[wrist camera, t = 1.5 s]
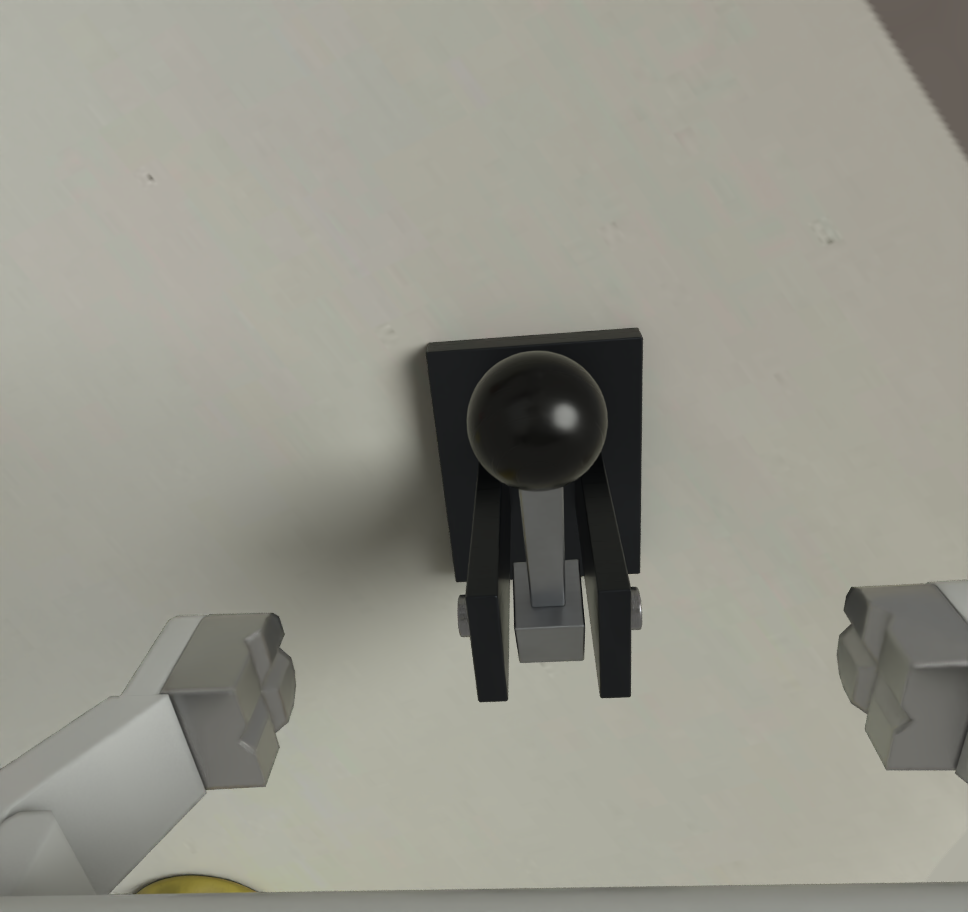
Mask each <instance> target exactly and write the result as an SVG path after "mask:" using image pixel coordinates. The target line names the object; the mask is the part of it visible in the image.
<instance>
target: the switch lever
mask: <svg viewBox="0 0 968 912" xmlns="http://www.w3.org/2000/svg"><path fill="white" fill-rule="evenodd" d="M607 427H608V417H607V408H606V404H605V400H604V397H603V394H602V392H601V390H600V388H599V386H598V384H597V383H596V381H595V380H594V379H593V377H592V376H591V375H590V374H589V373H588V372H587V371H586V370H585V369H584V368H583V367H582V366H581V365H579V364H578V363H576V362H575V361H573V360H571V359H570V358H568V357H565V356H563V355H560V354H556V353H553V352H548V351H527V352H522V353H518V354H515V355H512V356H510V357H508V358H505V359H503V360H502V361H500V362H498V363H497V364H496V365H494V366H493V367H492V368H491V369H490V370H488V371H487V372H486V373H485V375H484V376H483V377H482V378H481V380H480V381H479V382H478V384H477V386H476V387H475V389H474V391H473V393H472V396H471V399H470V402H469V406H468V411H467V433H468V437H469V441H470V444H471V447H472V449H473V452H474V454H475V456H476V457H477V459H478V460H479V462H480V463H481V465H482V466H483V467H484V468H485V469H486V470H487V471H488V472H489V473H490V474H491V475H492V476H493V477H495V478H496V479H498V480H499V481H500V482H502V483H504V484H506V485H508V486H511V487H513V488H516V489H519V498H520V507H521V517H522V526H523V536H524V545H525V554H526V562H514V563H513V599H514V630H515V636H516V643H517V649H518V656H519V661H520V663H532V662H558V661H582V660H584V646H585V619H584V608H583V597H582V586H581V575H580V564H579V560H578V559H574V560H565V548H564V500H563V487H564V486H566V485H568V484H570V483H572V482H573V481H575V480H577V479H578V478H580V477H581V476H582V475H583V474H584V473H585V472H586V471H588V470H589V468H590V467H591V466H592V465H593V463H594V462H595V461H596V459H597V458H598V456H599V454H600V452H601V450H602V448H603V445H604V442H605V439H606V434H607Z"/></svg>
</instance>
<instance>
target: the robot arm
mask: <svg viewBox="0 0 968 912" xmlns="http://www.w3.org/2000/svg"><path fill="white" fill-rule="evenodd" d="M844 612H845V614H846V615H847V617H848V619H849V620H850V622H851V624H850V625H849V626H848V627H847V628H846V629H845V630H844V631H843V632H842V633H841V634H840V635H839V641H838V649H837V660H838V669H839V675H840V679H841V682H842V685H843V688H844V690H845V692H846V694H847V696H848V698H849V700H850V702H851V704H853V705H854V706H856V707H857V708H859V709H860V710H862V711H863V712H865V713H866V714H868V715H867V720H866V725H865V731H866V733H867V735H868V737H869V739H870V740H871V742H872V744H873V746H874V748H875V750H876V752H877V754H878V755H879V757H880V759H881V761H882V763H883V765H884V767H885V769H886V770H956V772H955V774H956V775H958V776H959V777H960V778H961V779H963V780H964V781H965V782H966V783H968V580H952V581H937V582H927V583H926V584H924V583H921V584H901V585H882V586H862V587H851V588H850V590H849V592H848V594H847V595H846V600H845V605H844ZM284 635H285V634H284V631H283V628H282V624H281V621H280V618H279V616H277V615H275V614H274V613H242V614H209V615H179V616H175V617H174V618H172V619H170V620H169V621H168V622H167V623H166V625H165V626H164V628H163V629H162V631H161V633H160V634H159V636H158V637H157V639H156V640H155V642H154V644H153V645H152V647H151V648H150V650H149V651H148V653H147V655H146V656H145V658H144V659H143V661H142V662H141V664H140V666H139V667H138V669H137V670H136V672H135V673H134V675H133V677H132V678H131V680H130V681H129V683H128V684H127V686H126V688H125V689H124V691H123V692H122V694H121V695H120V696H110V697H108V698H107V699H105V700H104V701H102V702H101V703H99V704H98V705H96V706H95V707H93V708H92V709H90V710H89V711H87V712H86V713H84V714H83V715H81V716H80V717H78V718H77V719H75V720H74V721H72V722H71V723H69V724H68V725H66V726H65V727H63V728H62V729H60V730H59V731H57V732H56V733H54V734H53V735H51V736H50V737H48V738H47V739H45V740H44V741H42V742H41V743H39V744H38V745H36V746H35V747H33V748H32V749H30V750H29V751H27V752H26V753H24V754H23V755H21V756H20V757H18V758H17V759H15V760H14V761H12V762H11V763H9V764H8V765H6V766H5V767H3V768H2V769H0V912H968V882H916V883H849V884H781V885H714V886H646V887H579V888H512V889H445V890H379V891H312V892H246V893H180V894H113V895H108V894H109V893H110V892H111V891H112V890H113V889H114V888H115V887H116V886H117V885H118V884H119V883H120V882H121V881H122V880H123V879H124V878H125V877H126V876H127V875H128V874H129V873H130V872H131V871H132V870H133V869H134V868H135V867H136V866H137V864H138V863H139V862H140V861H141V860H142V859H143V858H144V857H145V856H146V855H147V854H148V853H149V852H150V851H151V850H152V849H153V848H154V847H155V846H156V845H157V844H158V843H159V842H160V841H161V840H162V839H163V838H164V837H165V836H166V835H167V834H168V832H169V831H170V830H171V829H172V828H173V827H174V826H175V825H176V824H177V823H178V822H179V821H180V820H181V819H182V818H183V817H184V816H185V815H186V814H187V813H188V812H189V811H190V810H191V809H192V808H193V807H194V806H195V805H196V804H197V803H198V802H199V801H200V799H201V798H202V797H203V796H204V795H205V794H206V790H214V789H232V788H250V787H266V784H267V781H268V778H269V776H270V773H271V770H272V767H273V764H274V762H275V759H276V756H277V753H278V750H279V748H280V747H279V743H278V740H277V737H276V732H277V731H279V730H280V729H281V728H282V727H283V726H284V725H286V724H287V723H288V722H289V719H290V716H291V712H292V709H293V706H294V698H295V689H296V681H295V670H294V667H293V663H292V659H291V657H290V656H289V655H288V654H286V653H285V652H284V651H283V650H282V649H281V648H279V647H280V645H281V642H282V640H283V637H284Z"/></svg>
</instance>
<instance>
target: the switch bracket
mask: <svg viewBox="0 0 968 912" xmlns="http://www.w3.org/2000/svg"><path fill="white" fill-rule="evenodd" d="M527 351H548V352H553V353H556V354H560V355H563V356H565V357H568V358H570V359H571V360H573V361H575V362H576V363H578V364H579V365H581V366H582V367H583V368H584V369H585V370H586V371H587V372H588V373H589V374H590V375H591V376H592V377H593V379H594V380H595V381H596V383H597V384H598V386H599V388H600V390H601V392H602V394H603V397H604V400H605V404H606V408H607V417H608V427H607V434H606V439H605V442H604V445H603V448H602V450H601V452H600V454H599V456H598V458H597V459H596V461H595V462H594V463H593V465H592V466H591V467H590V468H589V470H588V471H586V472H585V473H584V474H583V475H582V476H581V477H580V478H578V479H577V480H575V481H573V482H572V483H570V484H568V485H566V486H564V487H563V500H564V548H565V560H574V559H578V560H579V564H580V575H581V576H584V578H585V586H586V593H587V601H588V609H589V616H590V624H591V632H592V639H593V647H594V655H595V662H596V670H597V677H598V685H599V693H600V697H601V698H622V697H630V696H631V630H640V629H641V627H642V607H641V599H640V593H639V590H638V588H637V587H631V586H630V581H629V577H628V574H639V573H640V540H641V454H642V369H643V337H642V335H641V333H640V331H639V329H638V328H627V329H613V330H600V331H586V332H572V333H558V334H544V335H530V336H516V337H502V338H488V339H474V340H460V341H447V342H433V343H429V345H428V348H427V352H426V359H427V366H428V374H429V381H430V389H431V396H432V404H433V412H434V419H435V427H436V434H437V442H438V450H439V457H440V465H441V472H442V480H443V488H444V495H445V503H446V510H447V518H448V525H449V533H450V541H451V548H452V556H453V563H454V571H455V579H456V582H467V584H466V595H460V596H459V598H458V628H459V633H460V636H461V637H470V640H471V648H472V656H473V664H474V672H475V680H476V688H477V696H478V701H479V702H499V701H507V700H508V676H509V608H510V580H512V579H513V563H514V562H526V554H525V545H524V536H523V526H522V517H521V507H520V498H519V489H516V488H513V487H511V486H508V485H506V484H504V483H502V482H500V481H499V480H498V479H496V478H495V477H493V476H492V475H491V474H490V473H489V472H488V471H487V470H486V469H485V468H484V467H483V466H482V465H481V463H480V462H479V460H478V459H477V457H476V456H475V454H474V452H473V449H472V447H471V444H470V441H469V437H468V433H467V411H468V406H469V402H470V399H471V396H472V393H473V391H474V389H475V387H476V386H477V384H478V382H479V381H480V380H481V378H482V377H483V376H484V375H485V373H486V372H487V371H488V370H490V369H491V368H492V367H493V366H494V365H496V364H497V363H498V362H500V361H502V360H503V359H505V358H508V357H510V356H512V355H515V354H518V353H522V352H527Z"/></svg>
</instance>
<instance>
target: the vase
mask: <svg viewBox="0 0 968 912" xmlns="http://www.w3.org/2000/svg"><path fill="white" fill-rule="evenodd" d="M246 892H256V891H254V890H252V889H250V888H247V887H245V886H243V885H240V884H238V883H235V882H232V881H228V880H225V879H220V878H214V877H208V876H194V875H188V876H177V877H172V878H167V879H163V880H160V881H157V882H154V883H152V884H150V885H148V886H146V887H145V888H143V889H142V890H140V891H139V892H138V893H136V894H180V893H246Z"/></svg>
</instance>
